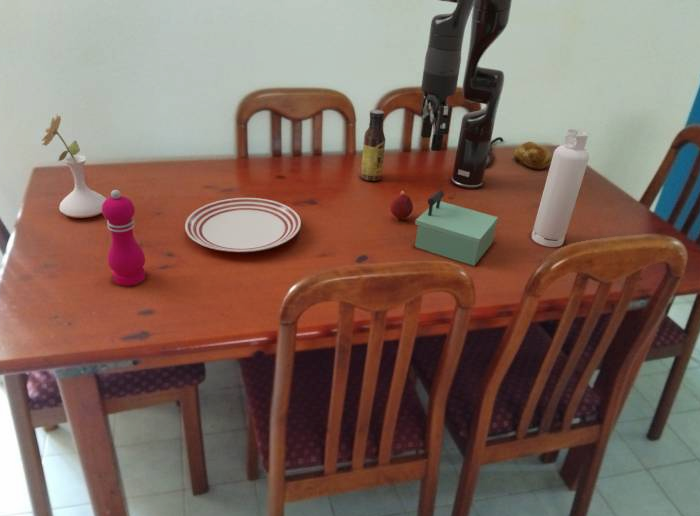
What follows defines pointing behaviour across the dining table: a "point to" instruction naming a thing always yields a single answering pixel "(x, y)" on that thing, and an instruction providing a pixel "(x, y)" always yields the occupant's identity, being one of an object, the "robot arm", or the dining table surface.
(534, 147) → the bread roll
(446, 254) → the teal open box
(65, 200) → the flower in vase
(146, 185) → the dining table surface
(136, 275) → the pepper mill
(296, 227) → the dinner plate
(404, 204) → the onion
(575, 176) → the bottle
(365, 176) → the sauce bottle
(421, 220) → the box lid
